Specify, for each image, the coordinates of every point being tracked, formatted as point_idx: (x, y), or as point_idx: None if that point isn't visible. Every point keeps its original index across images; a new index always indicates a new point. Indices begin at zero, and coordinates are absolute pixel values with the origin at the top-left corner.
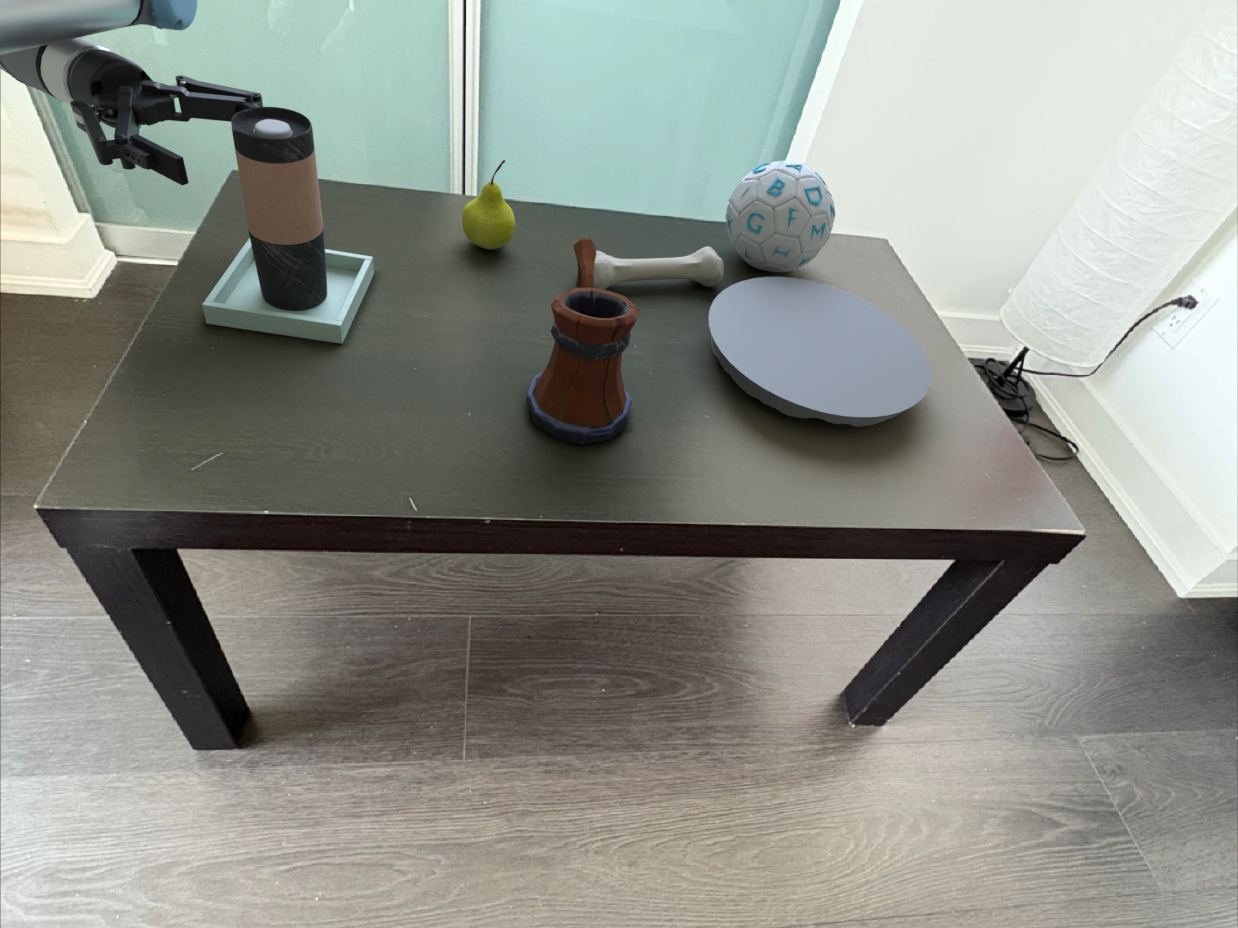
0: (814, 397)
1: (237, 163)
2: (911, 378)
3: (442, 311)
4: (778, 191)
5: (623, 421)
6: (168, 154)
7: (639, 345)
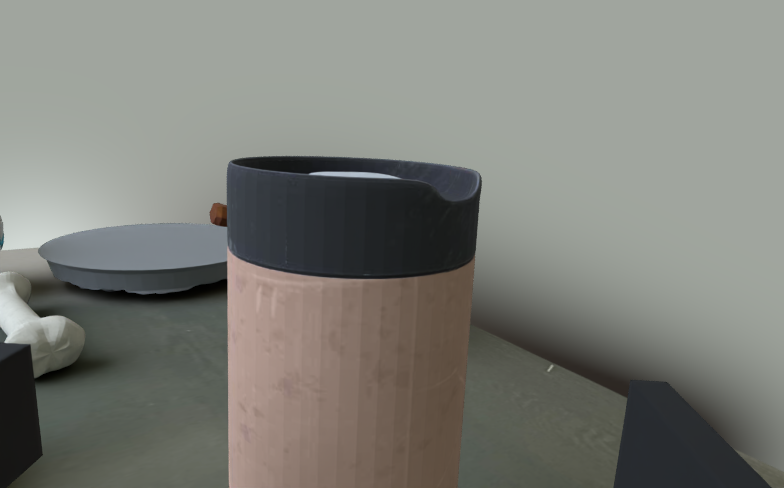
0: None
1: (456, 323)
2: (189, 226)
3: (216, 465)
4: None
5: None
6: (691, 411)
7: (184, 329)
